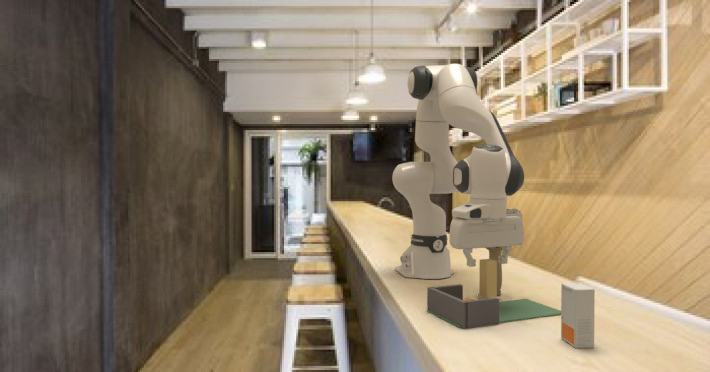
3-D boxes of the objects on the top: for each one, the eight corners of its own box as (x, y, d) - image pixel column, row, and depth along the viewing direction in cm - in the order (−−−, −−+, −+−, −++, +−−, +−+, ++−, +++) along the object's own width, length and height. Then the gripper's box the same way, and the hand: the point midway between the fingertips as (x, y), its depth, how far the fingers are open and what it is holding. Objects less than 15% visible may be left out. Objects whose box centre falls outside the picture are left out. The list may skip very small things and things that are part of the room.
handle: (508, 296, 144) (508, 244, 144) (485, 296, 144) (485, 244, 144) (504, 292, 149) (504, 241, 148) (482, 292, 149) (482, 241, 149)
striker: (475, 307, 129) (476, 258, 129) (485, 306, 130) (485, 257, 130) (490, 314, 123) (490, 262, 123) (500, 312, 124) (500, 261, 124)
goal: (427, 310, 130) (427, 287, 130) (460, 306, 133) (460, 284, 133) (463, 329, 114) (463, 302, 114) (499, 324, 118) (499, 298, 118)
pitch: (427, 311, 129) (427, 309, 129) (525, 300, 140) (525, 298, 140) (459, 328, 115) (459, 326, 115) (566, 314, 126) (566, 312, 126)
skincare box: (560, 338, 108) (560, 282, 107) (579, 338, 108) (579, 282, 108) (574, 348, 102) (575, 289, 101) (595, 348, 102) (595, 288, 102)
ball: (460, 314, 126) (457, 299, 126) (473, 309, 127) (470, 294, 127) (469, 318, 122) (466, 303, 122) (483, 313, 124) (480, 297, 123)
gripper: (513, 207, 133) (513, 259, 133) (446, 210, 125) (445, 265, 126) (530, 209, 127) (529, 264, 128) (460, 212, 120) (459, 270, 120)
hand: (487, 264), depth 127 cm, fingers open, 8 cm apart
